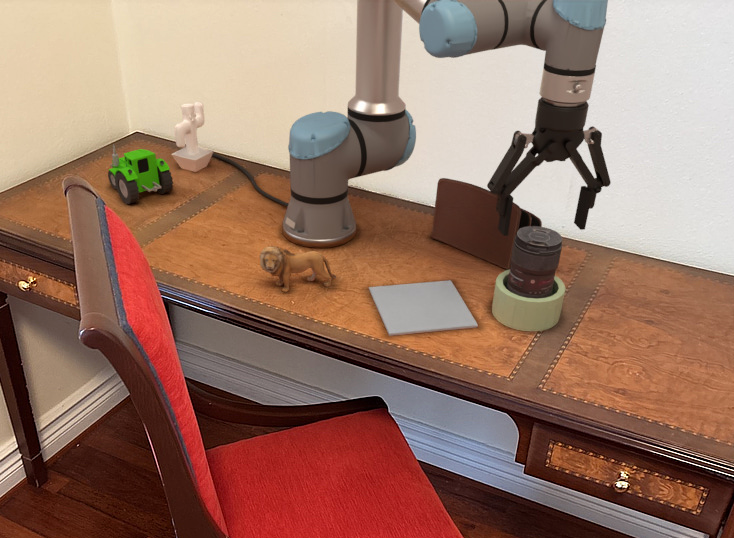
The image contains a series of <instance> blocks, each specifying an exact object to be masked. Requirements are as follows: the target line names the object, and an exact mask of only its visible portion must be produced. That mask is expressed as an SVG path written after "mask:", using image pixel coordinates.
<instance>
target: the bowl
mask: <svg viewBox="0 0 734 538" xmlns="http://www.w3.org/2000/svg"><path fill="white" fill-rule="evenodd" d="M509 272H510V269H509V270H506V269H505V270H504V271H502V272H501V273H499V274H498V275H497V276H496V279H495V283H494V290H493V297H492V304H491V314H492V316H493V317H494V319H495V320H496V321H498V322H499V324H502V325H504V327H505V326H506V327H507V328H510V329H513V330H518V331H521V332H543V331H547V330H550V329H551V328H553V327H555V326H556V325H557V324H558V322H559V320H560V318H561V314H562V308H563V304H564V299H565V294H566V291H567V290H566V285H565V284H566V283H564V282H563V280H562V279H561V278H560V277H558V276H557V275H555V278H554V283H553V289H552V294H551V296H550V297H547V298H538V299H536V298H526V297H522V296H518V295H516V294H514V293H511V292H510V291H509V290H507V289H506V288H507V282H508V276H509Z"/></svg>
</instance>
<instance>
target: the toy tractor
mask: <svg viewBox="0 0 734 538" xmlns="http://www.w3.org/2000/svg"><path fill="white" fill-rule="evenodd" d="M112 152H113V153H112V154H111V159H112V160H111V164H110V168H108V172H107V177H108V181H109V183H110V186H111V187H112V188H113V189H114V190H116V192H117V194H118V196H119V198H120V199H121V201H122V202H123V203H124V204H125V205H131V204H135V203H137V202H138V201H139V200H140V193H143V192H146V191H147V192H149V193H151V192H155V193H158V194H159V195H163V194H167V193H170V192H172V191H173V188H174V181H173V176H172V172H171V168H170V167H169V165H168V163H167V161H166V160H164V159H163V158H161V157H158V158H157V156H156V153H155V152H153V151H151V150H148V149H144V148H140V149H135V150H132V151H127V152H124V153H123V156H122V157H120V156H119V154H118V153H117V151H116V146H115V143H113V144H112Z"/></svg>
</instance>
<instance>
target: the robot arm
mask: <svg viewBox="0 0 734 538" xmlns="http://www.w3.org/2000/svg"><path fill="white" fill-rule="evenodd" d="M608 5H609V0H356V40H355V46H356V47H355V94H354V95H353V97H352V98H350V99H349V100H348V102H347V116H346V115H345V114H343V113H342V112H337V111H333V110H331V111H330V110H329V111H328V110H327V111H325V112H323V111H315V112H311V113H309V114H305V115H303V116H301V117H299V118H298V119H297V120H296V121H294V122H293V123H292V125H291V128H290V129H289V137H288V147H287V148H288V149H287V150H288V154H289V180H290V181H289V182H290V183H289V184H290V197H289V201H288V202H286V201H284V200H281V199H279V198H277V197H275V196H273V195H271V194H269V193H267V192H266V191H264V190H263V189H262V188H260V186H258V184H257V182H256V179H255V178H254V177H253V175H252V174H251V173H250V172H249V171H248V170H247V169H246V168H245V167H243V166H242V165H241V164H239V163H237V162H235V161H234V160H232V159H230V158H228V157H225V156H222V155H220V154H218V153H215V152H213V154H212V156H211V157H214V158H217V159H219V160H221V161H224V162H226V163H228V164H230V165H233V166H234V167H236V168H237V169H238V170H240V171H241V172H242V173H243V174H244V175H245V176H247V178H248V180H249V181H250V182H251V184H252V186H253V188H254V189H255V190H256V192H258V193H259V194H260V195H262V196H263V197H265V198H267V199H269V200H270V201H273V202H275V203H277V204H279V205H282V206H284V207H286V210H285V214H284V216H283V220H282V233H283V236H284V237H285V238H286V239H287V240H288V241H289V242H291V243H294V244H296V245H299V246H302V247H307V248H315V249H319V248H320V249H327V248H334V247H339V246H342V245H344V244H346V243H348V242H350V241H351V240H352V239H353V238H354V237H355V236H356V234H357V222H356V218H355V216H354V212H353V209H352V205H351V202H350V200H349V180H352V179H356V178H360V177H363V176H368V175H372V174H376V173H379V172H387V171H390V170H392V169H394V168H396V167H397V168H398V167H399V166H401V165H404V164H405V163H406V162H407V161H408V160H409V159H410V158H411V156H412V154H413V152H414V149H415V146H416V141H417V130H416V125H415V124H413V123H414V118H413V116H412V114H411V113H410V112H409V110H407V108H406V107H407V106H406V103H405V102H404V100H403V99H402V98H401V96H400V77H401V76H400V75H401V55H402V37H403V17H404V12H405V13H406V14H407V15H408V16H410V18H412V19H413V20H414V21H415V22H416V23H417V24H418V33H419V38H420V41H421V42H422V43H423V45H424V47H423V49H424V50H425V51H426V52H427V53H428V54H429V55H430V56H431V57H434V58H437V59H445V58H452V59H454V58H460V57H463V56H464V57H465V56H467V55H472V54H478V53H483V52H487V51H492V50H499V49H504V48H509V47H516V46H527V47H530V48H534V49H536V50H540V51H543V52H545V54H544V61H543V70H542V75H541V80H540V81H541V82H540V88H539V95H540V98H539V99H538V101H537V108H536V113H535V119H534V128H533V131H532V133H524V132H521V131H520V130H515V132H513V136H512V140H511V143H510V146H509V147H508V149H507V151H506V152H505V154H504V156H503V157H502V159H501V160H500V162H499V164H498V165H497V167H496V169H495V171H494V172H493V174H492V176H491V178H490V179H489V181H488V182H487V185H486V187H487V190H489V191H491V192H492V193H493V194H494V195H496V194H497V195H498V196H497V204H496V212H497V213H498V214H499V215H500V218H499V226H498V229H499V231H500V232H501V233H502V234H503V236H508V232H509V225H510V219H511V212H512V205H513V202H514V197H513V195H512V193H513V192H514V191H515V190H516V189H517V188H518V187H519V186H520V185H521V183H522V182H523V181H525V179H526V178H528V176H529V175H530V174H531V173H532V172H533V171H534V170H535V169H536V168H537V167H539V166H540V165H542V164H543V162H544V161H545V163H553V162H556V161H557V162H566V160H568V159H569V160H570V161H571V163H572V164H573V166H574V167H575V169H576V171H577V172H578V174H579V175H580V177H581V179H582V180H583V182H584V183H585V184H586V185H581V186H580V191H579V195H578V199H577V205H576V209H575V214H574V221H573V224H574V225H575V226H576V227H577V228H578V229H579V230H580V231H582V230H586V225H587V222H588V217H589V211H590V209H594V207H595V205H596V204H595V202H596V198H597V194H599V193H601V192H602V189H603V188H604V187H605V188H608V187H610V185H611V183H612V182H611V178H610V174H609V170H608V167H607V163H606V159H605V155H604V152H603V148H602V138H603V133H602V132H601V131H600V130H599V129H598V128H597V127H595V126H590V127H589V128H588V129H587V130H584V128H585V126H586V122H587V117H588V112H589V107H590V106H589V105H590V104H589V103H588V101H589V100H590V99H591V96H592V95H591V94H592V89H593V84H594V79H595V74H596V68H597V60H598V55H599V52H600V47H601V43H602V39H603V34H604V31H605V26H606V24H607V12H608ZM583 142H584V143H586V145H587V149H588V151H589V152H588V153H589V154H590V158H591V162H592V166H593V170H594V173H595V176H596V177H594V175H593V173H592V172H591V170H590V169H589V166H588V165H587V164H586V162H585V161H584V159H583V157H582V155H581V153H580V152H579V151H578V148H579V147H580V145H582V143H583ZM530 144H532V147H531V148H530V149H529V150H528V151H527V152H526V154H525V156H524V158H523V159H521V157H522V155H523V153H524V151H525V149H528V147H529V145H530ZM520 159H521V161H520V162H519V160H520ZM518 162H519V163H518Z"/></svg>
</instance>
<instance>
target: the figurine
mask: <svg viewBox="0 0 734 538" xmlns="http://www.w3.org/2000/svg"><path fill="white" fill-rule="evenodd" d="M204 108H205V107H204V104H203V103H202V102H200V101H195V102H194V103H189V102H188V103H183V104H180V109H181V113H182V114H181V115H182V121H180V122H178V123H176V124H175V126H174V138H175V139H174V140H175V145H176V147H178V148H179V150H176V151H174V152H172V153H171V154H170V155H171V156H172V158H173V159H174V160H175V162H176V163H177V164H178V165H177V166H179V167H180V169H183V170H186V171H190V172H193V173H197V172H199V171H200V170H203V169H204V168H206V167H208V165H209V163H210V161H211V158H212V157H213V156H212V154H213V153H215V150H213V149H209V148H206V147H205V148H204V147H200V146H199V143H198V134H197V133H198V132H197V130H198V129H199V128H202V127H203V126H204V124H205V112H204V111H205V109H204Z"/></svg>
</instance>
